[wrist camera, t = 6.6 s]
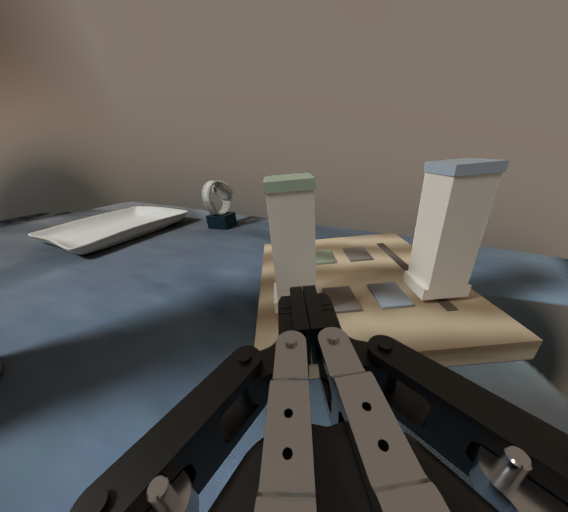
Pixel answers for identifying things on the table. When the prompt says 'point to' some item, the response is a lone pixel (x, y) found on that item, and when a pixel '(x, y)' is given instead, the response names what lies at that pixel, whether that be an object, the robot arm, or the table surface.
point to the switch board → (398, 306)
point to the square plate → (108, 228)
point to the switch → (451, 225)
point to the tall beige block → (291, 231)
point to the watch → (223, 217)
